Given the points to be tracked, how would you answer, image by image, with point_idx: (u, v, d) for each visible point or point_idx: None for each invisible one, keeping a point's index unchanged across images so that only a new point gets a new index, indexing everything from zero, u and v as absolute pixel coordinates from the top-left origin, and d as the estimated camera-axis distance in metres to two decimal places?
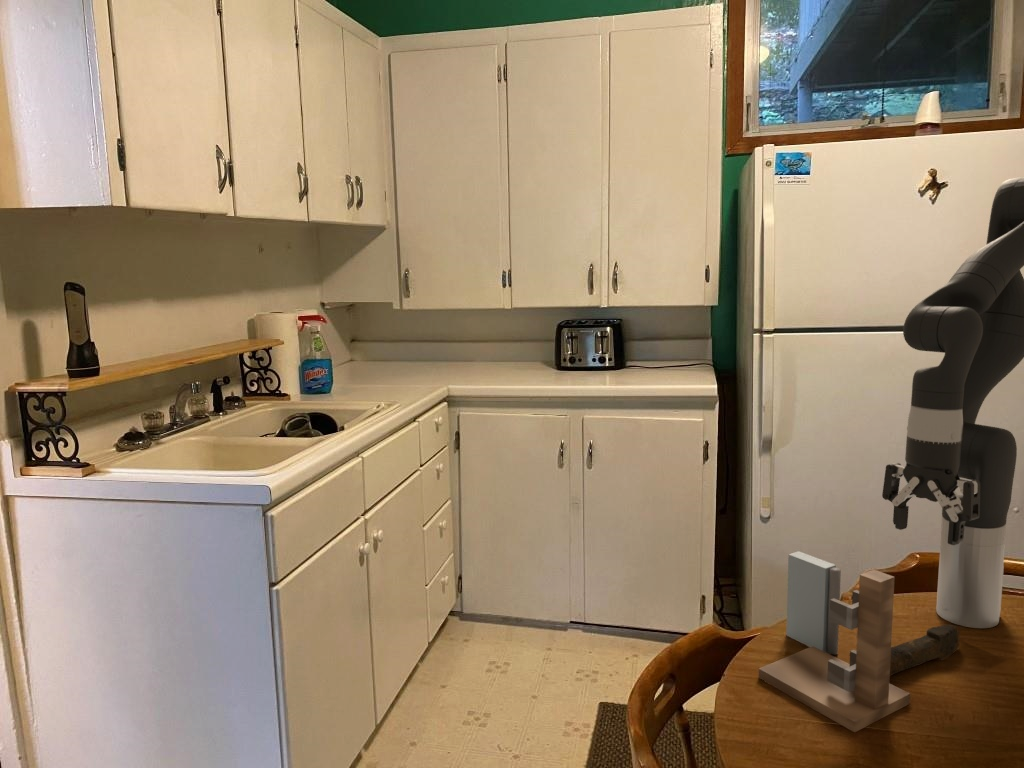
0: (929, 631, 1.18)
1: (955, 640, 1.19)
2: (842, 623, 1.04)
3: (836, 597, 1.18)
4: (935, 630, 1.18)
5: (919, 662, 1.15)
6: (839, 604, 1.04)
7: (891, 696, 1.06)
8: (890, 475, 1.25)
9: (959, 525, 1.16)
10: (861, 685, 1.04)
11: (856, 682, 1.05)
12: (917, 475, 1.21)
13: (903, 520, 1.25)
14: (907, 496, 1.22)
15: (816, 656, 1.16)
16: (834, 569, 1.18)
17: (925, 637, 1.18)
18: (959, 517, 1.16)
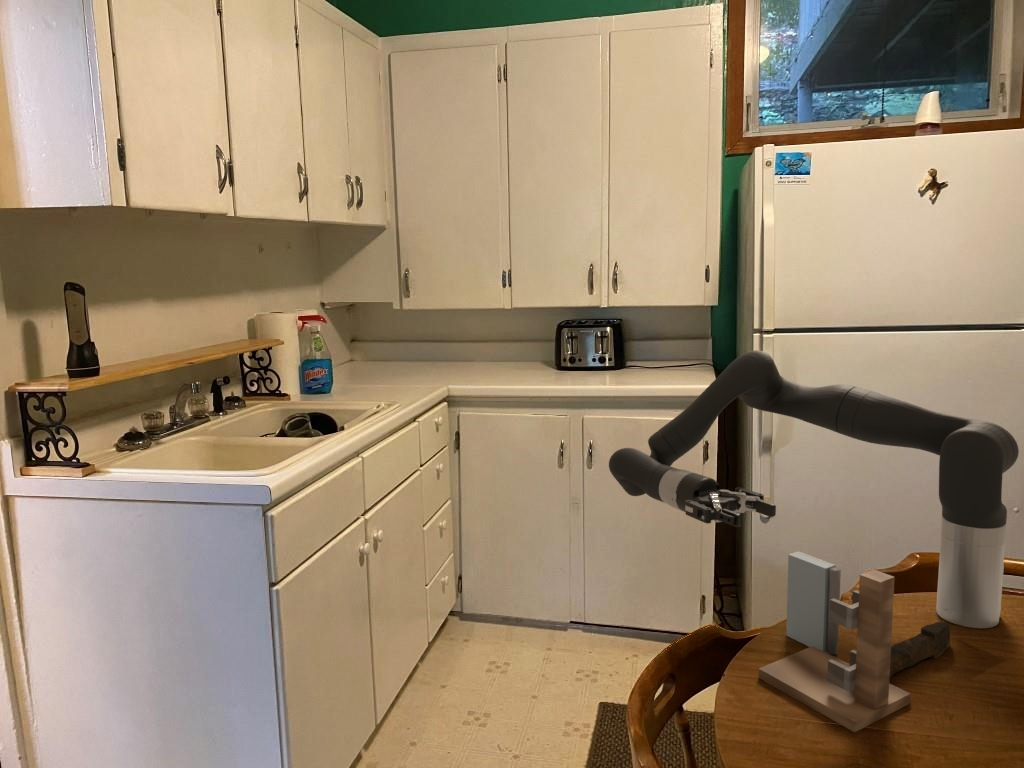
0: (923, 629, 1.19)
1: (948, 637, 1.20)
2: (842, 623, 1.04)
3: (836, 597, 1.18)
4: (929, 628, 1.19)
5: (916, 661, 1.15)
6: (839, 604, 1.04)
7: (891, 696, 1.06)
8: (695, 502, 1.34)
9: None
10: (861, 685, 1.04)
11: (856, 682, 1.05)
12: (709, 496, 1.38)
13: None
14: None
15: (816, 656, 1.16)
16: (834, 569, 1.18)
17: (920, 635, 1.18)
18: None
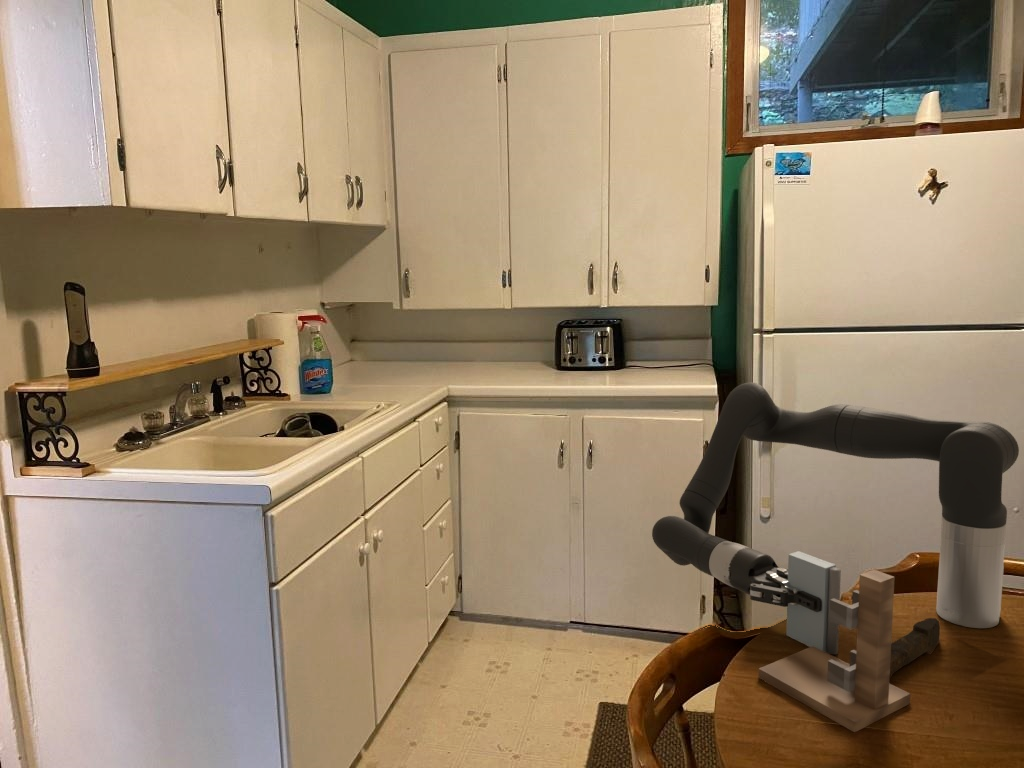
0: (916, 626, 1.20)
1: (938, 633, 1.21)
2: (842, 623, 1.04)
3: (836, 597, 1.18)
4: (921, 625, 1.20)
5: (913, 658, 1.16)
6: (839, 604, 1.04)
7: (891, 696, 1.06)
8: (761, 585, 1.25)
9: None
10: (861, 685, 1.04)
11: (856, 682, 1.05)
12: (765, 576, 1.28)
13: None
14: None
15: (816, 656, 1.16)
16: (834, 569, 1.18)
17: (913, 632, 1.19)
18: None
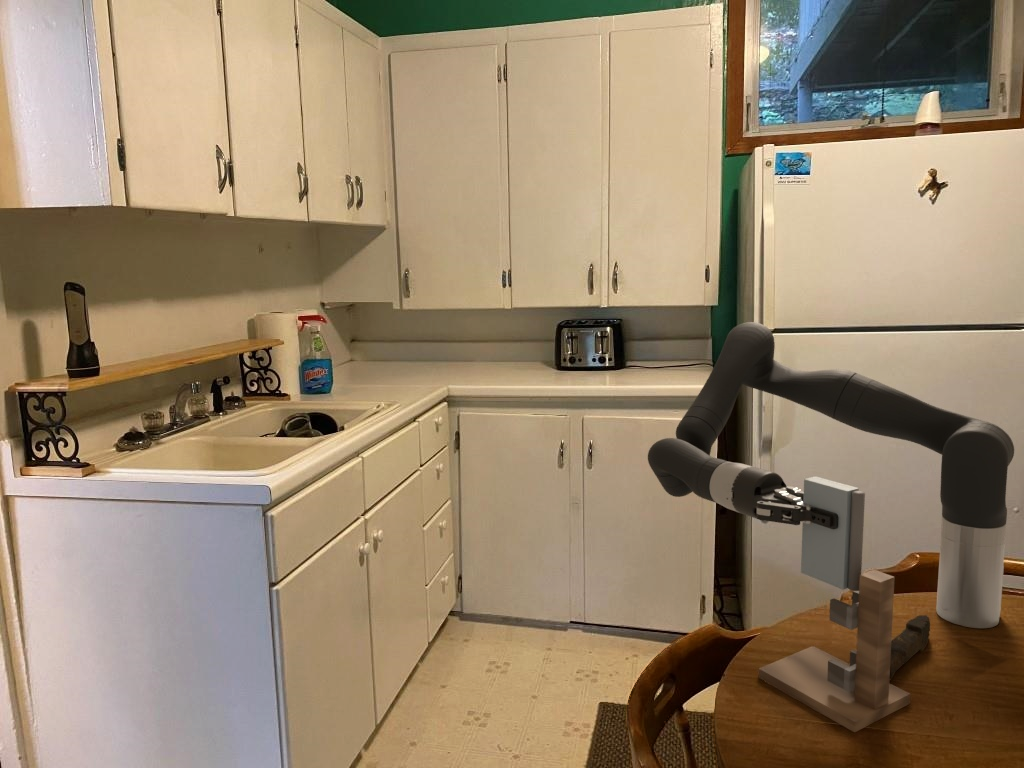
0: (909, 624, 1.20)
1: (929, 629, 1.22)
2: (842, 623, 1.04)
3: (859, 524, 1.03)
4: (914, 622, 1.21)
5: (909, 657, 1.16)
6: (839, 604, 1.04)
7: (891, 696, 1.06)
8: (770, 502, 1.10)
9: None
10: (861, 685, 1.04)
11: (856, 682, 1.05)
12: (773, 494, 1.13)
13: None
14: None
15: (816, 656, 1.16)
16: (857, 492, 1.03)
17: (907, 631, 1.20)
18: None
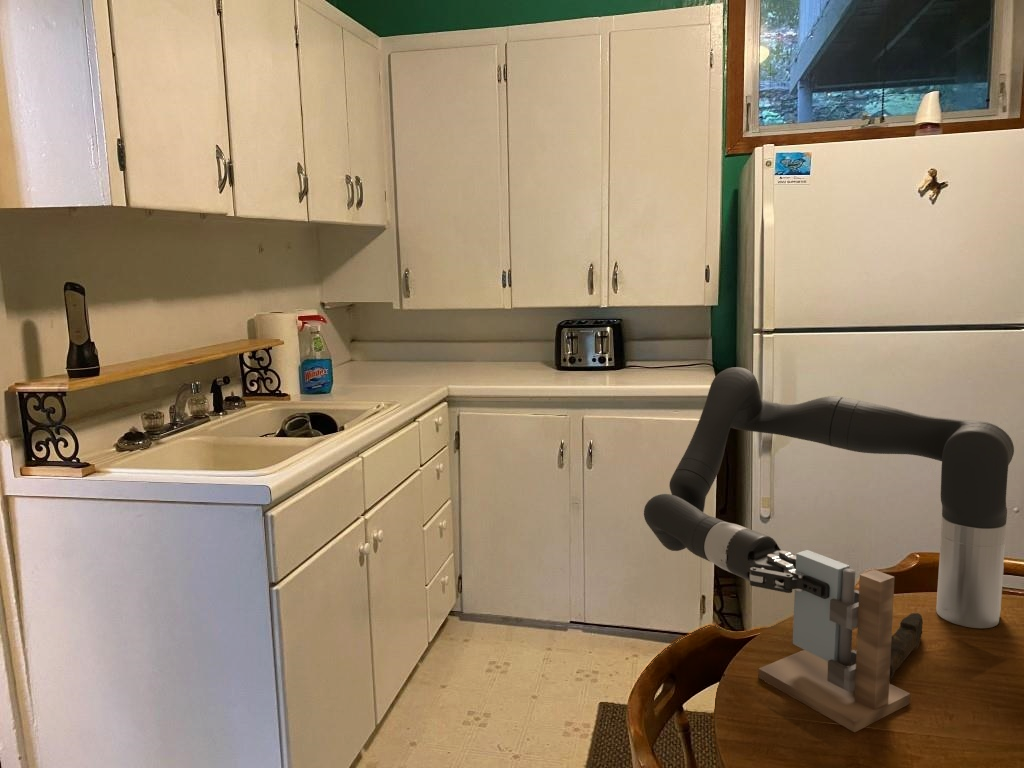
0: (904, 623, 1.21)
1: None
2: (842, 623, 1.04)
3: (850, 602, 1.05)
4: (908, 621, 1.21)
5: (906, 655, 1.17)
6: (839, 604, 1.04)
7: (891, 696, 1.06)
8: (762, 569, 1.12)
9: None
10: (861, 685, 1.04)
11: (856, 682, 1.05)
12: (766, 559, 1.15)
13: None
14: None
15: (816, 656, 1.16)
16: (848, 570, 1.05)
17: (902, 629, 1.20)
18: None
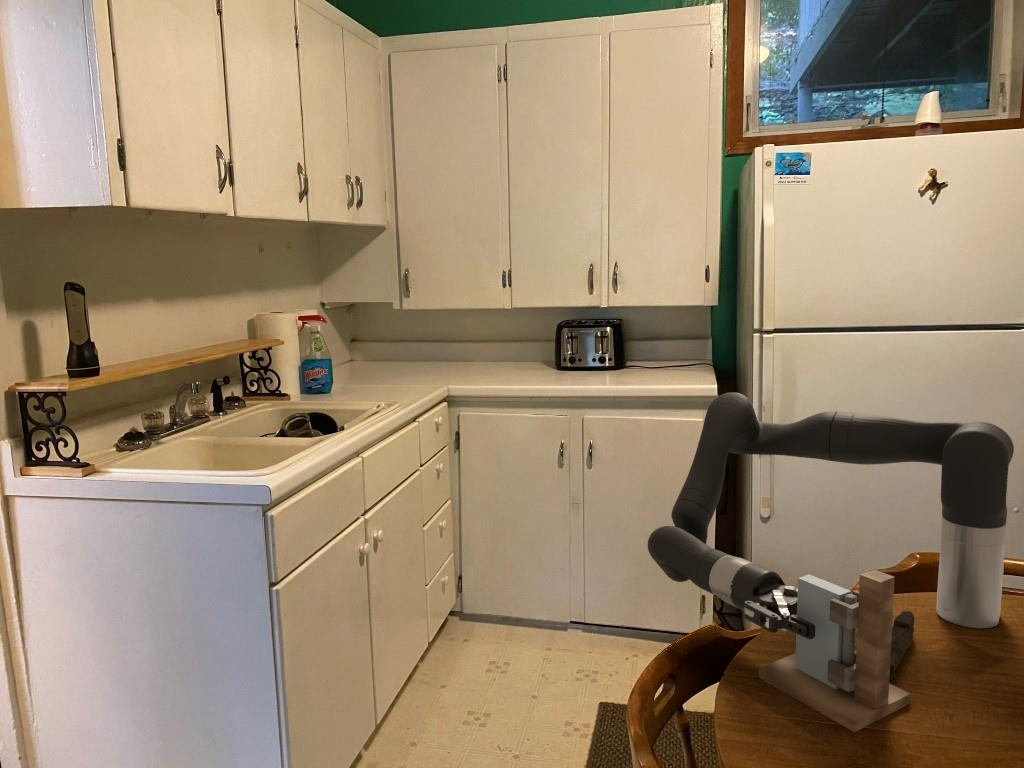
0: (897, 621, 1.22)
1: None
2: (842, 623, 1.04)
3: None
4: (901, 619, 1.22)
5: (903, 654, 1.17)
6: (839, 604, 1.04)
7: (891, 696, 1.06)
8: (756, 604, 1.13)
9: None
10: (861, 685, 1.04)
11: (856, 682, 1.05)
12: (772, 594, 1.16)
13: None
14: None
15: None
16: (849, 596, 1.05)
17: (896, 628, 1.21)
18: None
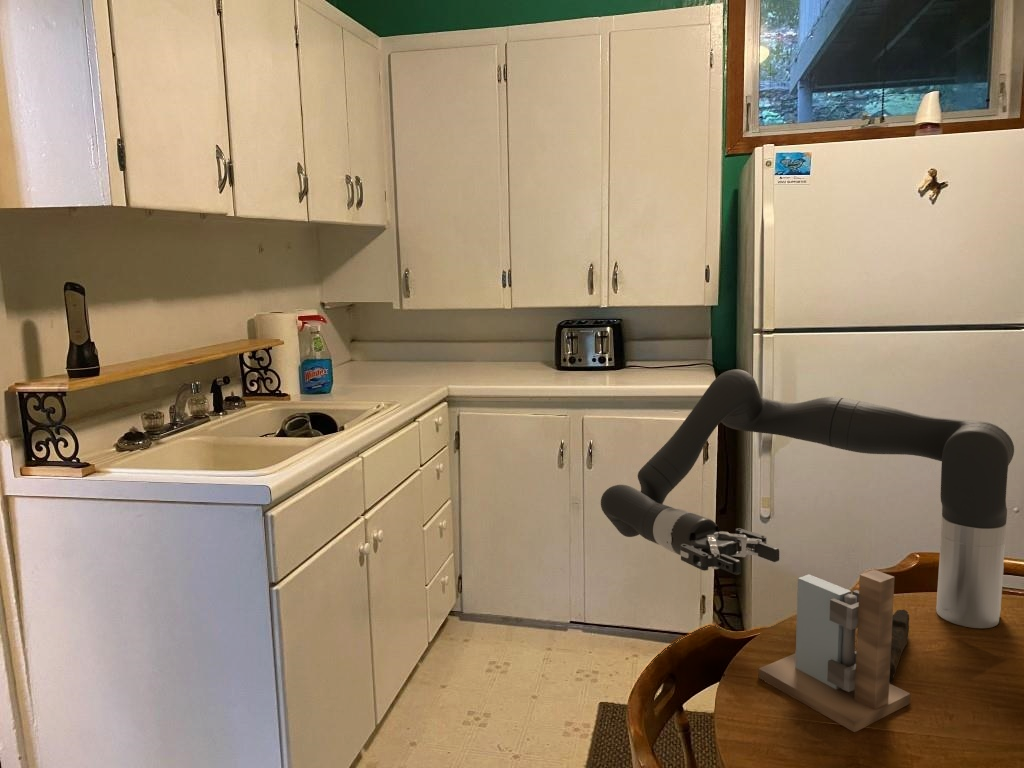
0: (893, 620, 1.22)
1: None
2: (842, 623, 1.04)
3: None
4: (897, 618, 1.22)
5: (901, 653, 1.17)
6: (839, 604, 1.04)
7: (891, 696, 1.06)
8: (690, 547, 1.23)
9: None
10: (861, 685, 1.04)
11: (856, 682, 1.05)
12: (706, 538, 1.26)
13: None
14: None
15: None
16: (849, 596, 1.05)
17: (893, 627, 1.21)
18: None
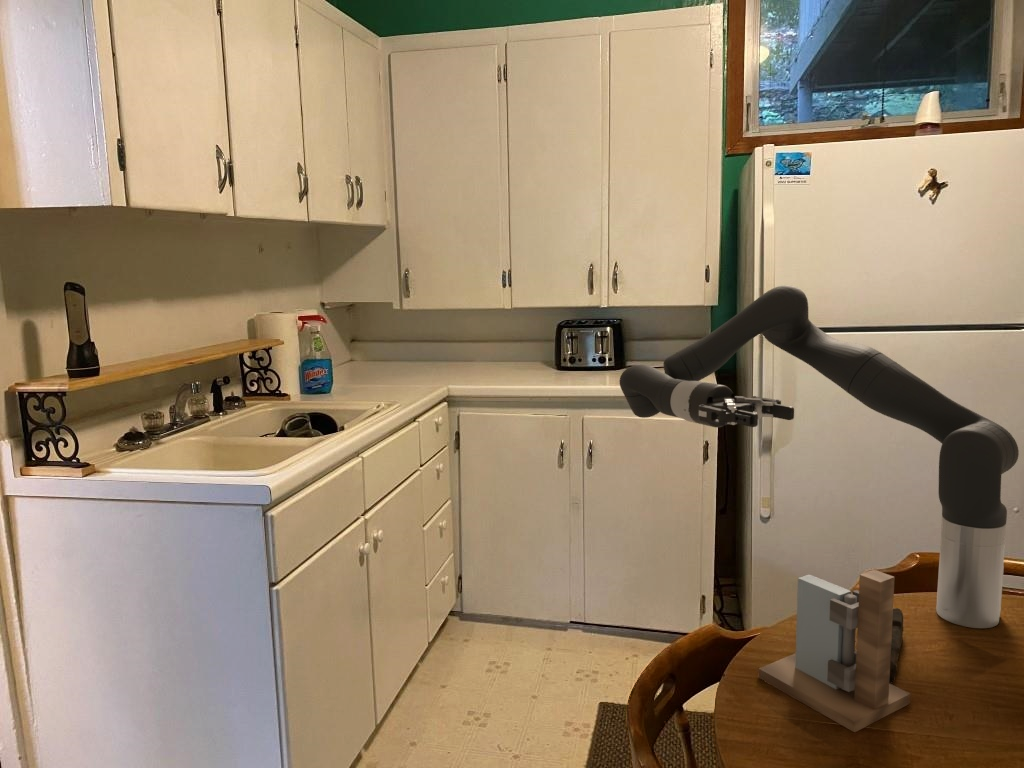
0: None
1: None
2: (842, 623, 1.04)
3: None
4: None
5: None
6: (839, 604, 1.04)
7: (891, 696, 1.06)
8: (708, 406, 1.28)
9: None
10: (861, 685, 1.04)
11: (856, 682, 1.05)
12: (723, 402, 1.31)
13: None
14: None
15: None
16: (849, 596, 1.05)
17: None
18: None
